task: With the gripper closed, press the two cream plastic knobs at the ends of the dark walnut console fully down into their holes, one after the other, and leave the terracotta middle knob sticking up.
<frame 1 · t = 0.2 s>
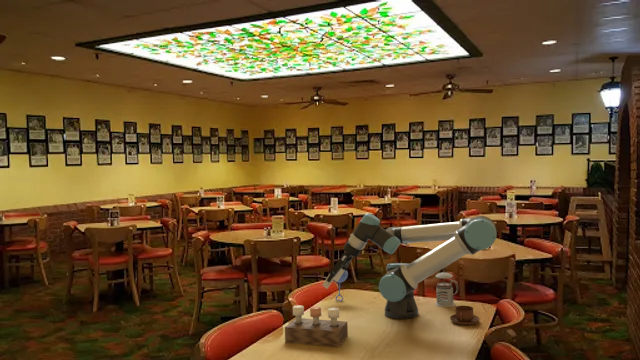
hand: (329, 283, 219), 16 cm above the table, tool tilted 35°, fingers open, 13 cm apart
knob middle: (315, 316, 194), point 9 cm above the table, slide at 0.0 cm
cup and saucer: (464, 322, 208), on the table
knob far: (298, 315, 196), point 9 cm above the table, slide at 0.0 cm
french press: (446, 304, 235), on the table
knob near: (333, 318, 191), point 9 cm above the table, slide at 0.0 cm
knob console: (316, 339, 194), on the table
baby rattle: (340, 301, 248), on the table
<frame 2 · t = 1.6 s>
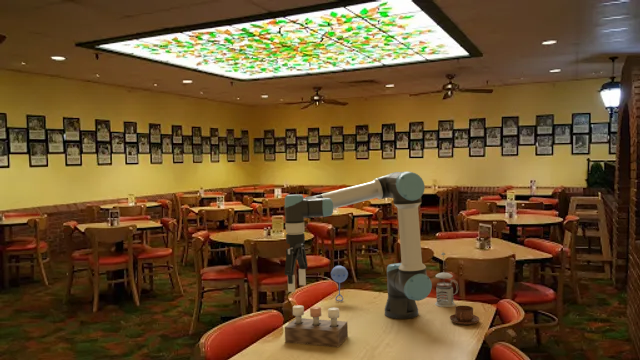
hand: (297, 288, 196), 20 cm above the table, tool pointing down, fingers open, 10 cm apart
nothing on the table moved.
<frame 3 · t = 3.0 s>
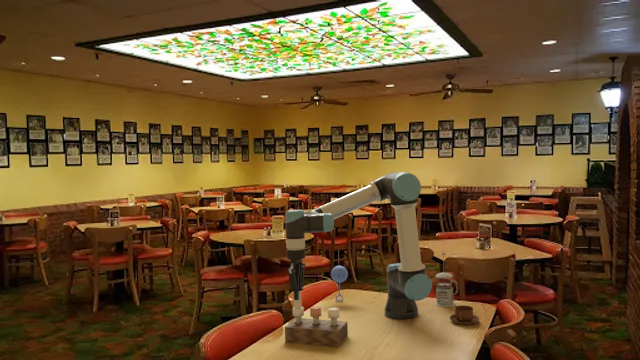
hand: (297, 307, 196), 12 cm above the table, tool pointing down, fingers closed
knob far: (298, 316, 196), point 9 cm above the table, slide at 0.4 cm, touching gripper
everything else where it was.
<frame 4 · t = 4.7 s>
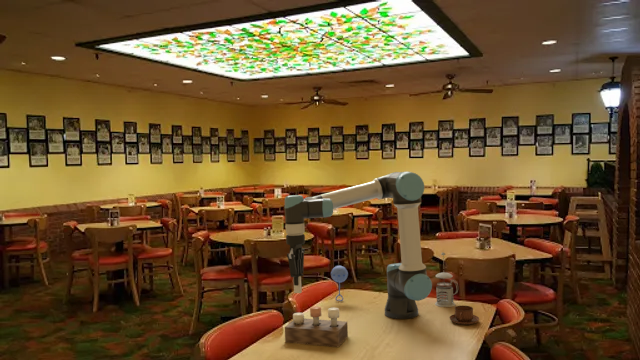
hand: (297, 292, 196), 18 cm above the table, tool pointing down, fingers closed
knob far: (298, 322, 196), point 6 cm above the table, slide at 3.0 cm
everything else where it was.
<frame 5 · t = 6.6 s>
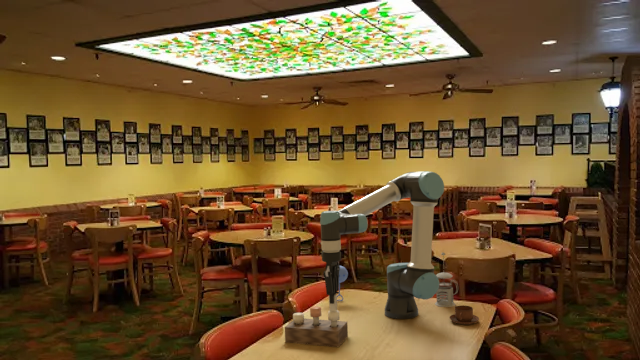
hand: (333, 310, 191), 12 cm above the table, tool pointing down, fingers closed
knob near: (333, 320, 191), point 8 cm above the table, slide at 0.9 cm, touching gripper
everything else where it was.
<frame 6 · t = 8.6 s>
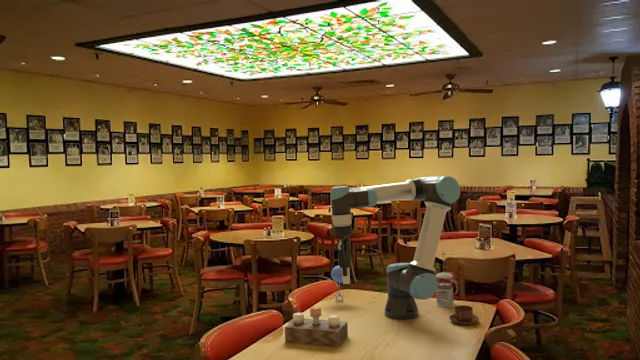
hand: (346, 283, 196), 21 cm above the table, tool pointing down, fingers closed
knob near: (334, 325, 191), point 6 cm above the table, slide at 3.0 cm
everything else where it was.
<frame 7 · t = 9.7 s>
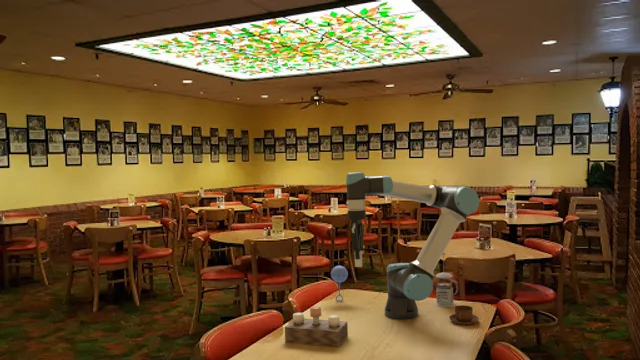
hand: (358, 266, 202), 26 cm above the table, tool pointing down, fingers closed
nothing on the table moved.
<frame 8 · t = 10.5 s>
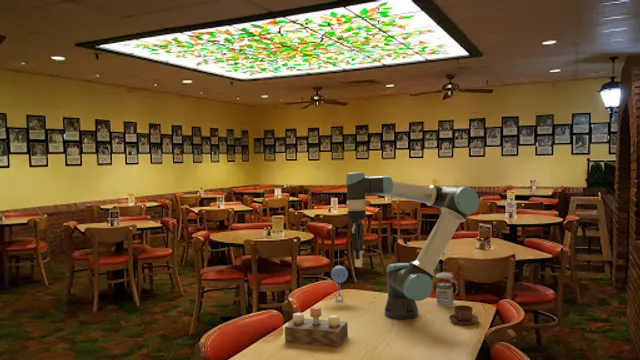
hand: (358, 266, 202), 26 cm above the table, tool pointing down, fingers closed
nothing on the table moved.
at the end: knob far slide at 3.0 cm; knob near slide at 3.0 cm; knob middle slide at 0.0 cm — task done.
